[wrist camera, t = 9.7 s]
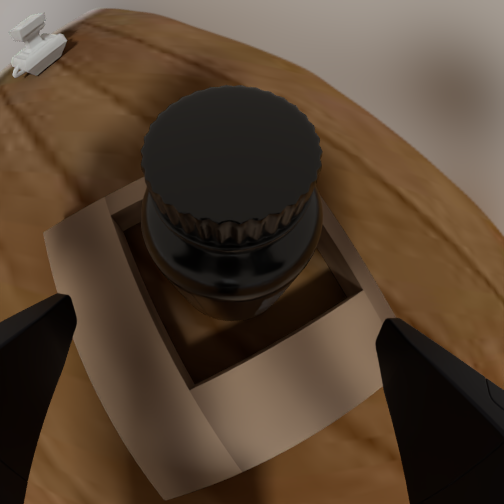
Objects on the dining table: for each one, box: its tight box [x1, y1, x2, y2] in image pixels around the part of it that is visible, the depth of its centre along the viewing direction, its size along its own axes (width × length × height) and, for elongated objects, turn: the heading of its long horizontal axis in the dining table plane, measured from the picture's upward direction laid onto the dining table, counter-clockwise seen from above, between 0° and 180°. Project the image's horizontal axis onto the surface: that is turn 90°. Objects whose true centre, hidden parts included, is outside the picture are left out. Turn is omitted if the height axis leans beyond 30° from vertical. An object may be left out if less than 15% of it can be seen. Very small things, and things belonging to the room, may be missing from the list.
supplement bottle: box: [141, 85, 323, 321], centre depth 13 cm, size 7×7×12 cm
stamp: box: [9, 13, 67, 78], centre depth 21 cm, size 9×7×8 cm
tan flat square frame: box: [43, 176, 396, 500], centre depth 16 cm, size 17×18×2 cm
